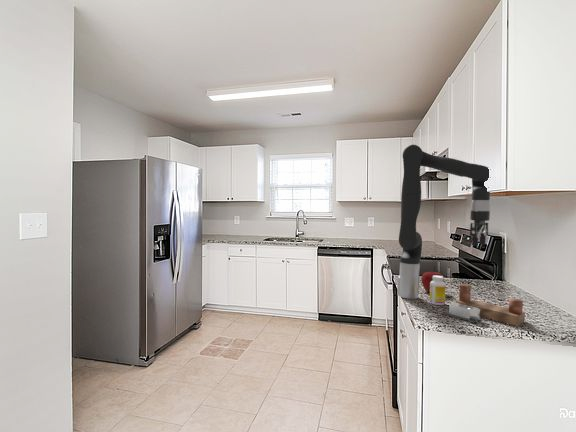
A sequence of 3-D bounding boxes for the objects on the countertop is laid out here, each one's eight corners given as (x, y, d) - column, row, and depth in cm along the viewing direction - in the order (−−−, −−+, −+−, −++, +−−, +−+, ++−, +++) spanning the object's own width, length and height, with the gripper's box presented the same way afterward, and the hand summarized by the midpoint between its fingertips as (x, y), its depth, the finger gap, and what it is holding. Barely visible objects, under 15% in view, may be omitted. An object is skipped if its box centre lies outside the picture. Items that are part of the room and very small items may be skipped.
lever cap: (449, 313, 132) (449, 304, 132) (454, 311, 135) (455, 302, 135) (476, 321, 124) (476, 311, 124) (481, 318, 127) (482, 309, 127)
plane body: (455, 310, 139) (456, 285, 139) (463, 306, 145) (464, 282, 144) (517, 326, 121) (519, 298, 120) (525, 321, 127) (526, 294, 126)
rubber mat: (443, 314, 133) (443, 313, 133) (450, 311, 138) (450, 309, 137) (474, 323, 124) (474, 321, 124) (481, 319, 128) (481, 317, 128)
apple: (439, 290, 172) (439, 269, 172) (446, 295, 162) (447, 273, 161) (418, 289, 173) (418, 268, 173) (424, 294, 163) (425, 272, 162)
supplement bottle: (448, 304, 147) (449, 277, 147) (439, 306, 144) (440, 278, 143) (435, 300, 153) (436, 274, 152) (426, 302, 150) (427, 275, 149)
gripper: (477, 210, 153) (476, 243, 153) (464, 209, 144) (463, 245, 144) (495, 210, 147) (493, 245, 147) (482, 210, 138) (481, 247, 139)
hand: (478, 245), depth 146 cm, fingers open, 8 cm apart
